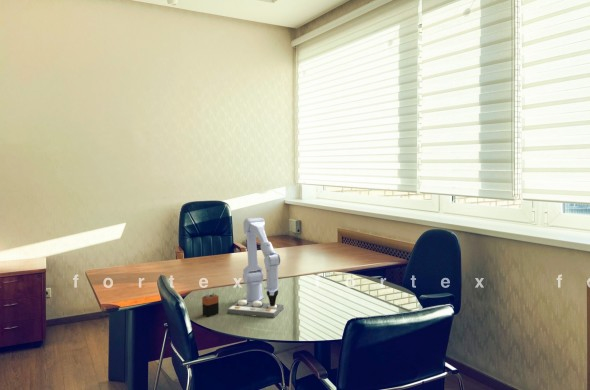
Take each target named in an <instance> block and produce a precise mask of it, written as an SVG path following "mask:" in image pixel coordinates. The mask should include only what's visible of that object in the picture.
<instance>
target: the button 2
mask: <svg viewBox="0 0 590 390" xmlns="http://www.w3.org/2000/svg"><path fill="white" fill-rule="evenodd" d="M262 303H263V302H262V301H261V300H260V301H254V302H253V307H257V308H261V307H262Z"/></svg>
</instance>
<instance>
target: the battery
mask: <svg viewBox="0 0 590 390" xmlns="http://www.w3.org/2000/svg"><path fill="white" fill-rule="evenodd" d="M219 301H220V300H219V295H217V294H216V293H214V292H213V293H211V294H209V293H208V294H205V295H204V296H202V301H201V302H202V303H201V305H202V306H201V307H202V316H205V317H208V318H209V317H213V316H216V315H218V314H220V311H219V310H220V309H219V307H220V306H219Z"/></svg>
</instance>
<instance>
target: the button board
mask: <svg viewBox="0 0 590 390" xmlns="http://www.w3.org/2000/svg"><path fill="white" fill-rule="evenodd" d="M268 305H270V303H266V302H262V307H261V308H257V307H253V302H249V301H247V305H246V306H238V301H237V302H235V303H234V304H233V305H231V306H229V308H227V314H230V313H231V314H232V315H241V314H244V315H243V316H251V315H256V316H255V317H262V316H263V317H264V318H273V319H274V318H275V317H277V316H278V315H279V314H280V313H281V312H282V311H283V310H284V304H277V303H275V305H277V309H268ZM263 317H262V318H263Z"/></svg>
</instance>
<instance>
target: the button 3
mask: <svg viewBox="0 0 590 390" xmlns="http://www.w3.org/2000/svg"><path fill="white" fill-rule="evenodd" d="M268 309H277V305H275V306H270V305H268Z"/></svg>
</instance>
